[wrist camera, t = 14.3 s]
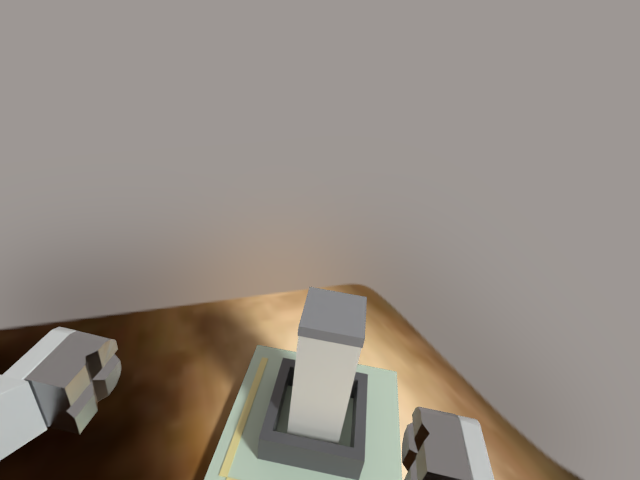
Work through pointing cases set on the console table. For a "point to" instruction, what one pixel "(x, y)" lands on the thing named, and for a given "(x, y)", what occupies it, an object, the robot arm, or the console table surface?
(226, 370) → the console table surface
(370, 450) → the board
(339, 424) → the plug
